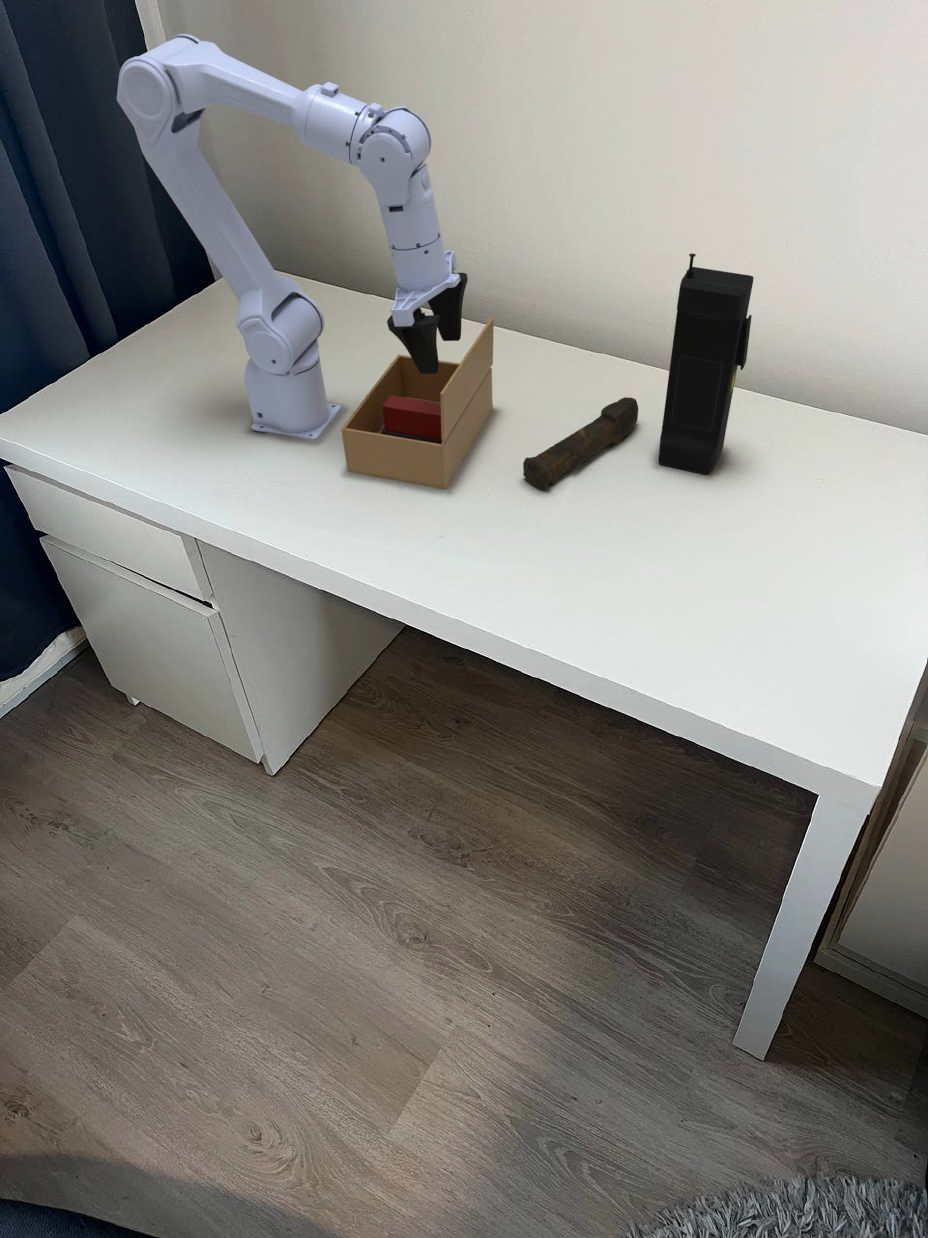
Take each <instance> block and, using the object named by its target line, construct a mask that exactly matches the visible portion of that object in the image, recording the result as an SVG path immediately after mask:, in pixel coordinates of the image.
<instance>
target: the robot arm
mask: <svg viewBox="0 0 928 1238" xmlns="http://www.w3.org/2000/svg"><path fill="white" fill-rule="evenodd" d="M339 91H340V86H339V85H338V84H335V83H333V82H330V81H327V82H325V83H324V84H323V85H322V84H319V83H316V84H313V85H311V86H309V87H307V88H306V89H305V90H301V89H300V88H296V87H295V86H292V85H291V84H288V83H286V82H284V81H282V80H280V79H277V78H276V77H274V76H272V75H270V74H267V73H266V72H264V71H261V70H259V69H257V68H255V67H253V66H251V65H249V64H246V63H244V62H242V61H240V60H238V59H236V58H234V57H232V56H230V55H228V54H226V53H224V52H223V51H222V50H221V49H220V48H219V46H218V45H217V44H216V43H214V42H212V41H206V40H200V39H199V38H197V37H196V36H194V35H191V34H188V33H178V34H176V35H174V36H173V37H170V39H169V40H168V41H166V42H164V43H162V44H160V45H158V46H156V47H155V48H153V49H150V50H148V51H146V52H144V53H142V54H141V55H139V56H134V57H131V58H128V59H127V60H126V61H125V62H123V64H122V66H121V67H120V70H119V74H118V83H117V94H116V102H117V104H118V105H119V106H120V107H121V109H122V111H123V113H124V114H125V115H126V117H127V118H128V120H129V122H130V123H131V125H132V126H133V128H134V132H135V135H136V137H137V141H138V144H139V147H140V150H141V154H142V155H143V156H144V158H145V160H146V162H147V163H148V165H149V166H150V168H151V169H152V171H153V172H154V174H155V175H156V177H157V179H158V180H159V181H160V183H161V185H162V187H163V188H164V189H165V191H166V193H167V194H168V195H169V197H170V198H171V199H172V201H173V203H174V204H175V205H176V207H177V209H178V210H179V212H180V213H181V215H182V216H183V219H185V221H186V223H187V224H188V226H189V227H190V228H191V231H192V232H193V233H194V235H195V237H196V238H197V239H198V241H199V242H200V244H201V246H202V247H203V249H204V250H205V251H206V253H207V255H208V256H209V258H210V259H211V261H212V262H213V264H214V265H215V267H216V269H217V270H218V271H219V273H220V274H221V276H222V277H223V279H224V281H225V282H226V284H227V285H228V286H229V288H230V289H231V291H232V292H233V294H234V296H235V298H236V299H237V309H236V320H235V327H236V329H238V331H239V333H240V334H241V336H242V338H243V341H244V345H245V350H246V352H247V355H248V357H249V359H248V361H247V363H246V365H245V369H244V386H245V392H246V396H247V399H248V404H249V408H250V414H251V417H252V420H253V421H252V422H253V423H252V424H251V426H250V428H251V430H252V431H257V432H261V433H272V434H277V435H283V436H289V437H294V438H299V439H306V440H311V441H316V440H318V439H319V438H320V436H321V435H322V433H323V432H324V431H325V430H326V429H327V427H328V426H329V425H330V424H331V422H332V421H333V419H335V417H336V416H337V415H338V413H339V412H340V411H341V410H342V406H341V405H338V404H334V403H329V402H328V400H327V394H326V387H325V382H324V376H323V369H322V364H321V357H320V352H319V351H320V350H319V348H320V345H319V339H318V338H319V337H320V336H321V335H322V333H323V332H324V329H325V317H324V314H323V312H322V310H321V308H320V306H319V305H318V304H317V302H315V301H314V300H313V299H312V298H311V297H310V296H308V295H307V294H306V293H305V292H304V291H303V290H302V289H301V287H300V286H299V284H298V282H297V281H296V280H294V279H292V278H289V277H286V276H282V275H280V274H278V273H277V272H276V271H275V269H274V267H273V266H272V264H271V263H270V260H269V259H268V258H267V256H266V254H265V252H264V251H263V250H262V248H261V246H260V245H259V243H258V242H257V240H256V239H255V237H254V235H253V234H252V232H251V230H250V229H249V227H248V226H247V224H246V221H244V219H243V217H242V216H241V214H240V213H239V211H238V210H237V208H236V206H235V205H234V204H233V202H232V200H231V199H230V196H229V195H228V193H227V192H226V190H225V189H224V187H223V185H222V184H221V182H220V181H219V179H218V177H217V176H216V174H215V172H214V171H213V169H212V167H211V166H210V164H209V163H208V161H207V160H206V159H205V157H204V156H203V154H202V152H201V150H200V149H199V147H198V140H199V132H200V128H201V122H202V118H203V116H204V113H205V112H206V110H207V108H210V107H211V106H215V105H218V104H224V105H226V106H229V107H233V108H235V109H238V110H241V111H245V112H246V113H250V114H254V115H257V116H259V117H262V118H265V119H268V120H271V121H274V122H277V123H280V124H283V125H286V126H289V127H291V128H292V129H293V131H294V133H295V135H296V137H297V139H298V141H299V142H300V143H301V145H304V146H306V147H308V148H310V149H313V150H316V151H318V152H320V153H323V154H325V155H328V156H330V157H333V158H335V159H338V160H340V161H343V162H345V163H347V164H350V165H353V166H355V167H357V168H358V170H359V172H360V173H361V175H362V176H363V178H364V179H366V181H367V182H368V183H369V184H370V185H371V187H372V188H373V189H374V192H375V196H376V200H377V202H378V207H379V210H380V215H381V219H382V222H383V226H384V230H385V235H386V238H387V239H386V240H387V242H388V247H389V251H390V256H391V260H392V264H393V268H394V273H395V276H396V280H397V283H396V288H395V297H394V303H393V306H392V308H391V309H390V313H391V315H390V316H389V317H388V318H387V320H386V324H387V328H388V330H389V332H391V334H393V335H394V336H395V337H396V338H397V339H398V340H399V341H400V343H401V344H402V345H403V347H404V348H405V349H406V351H407V353H408V354H409V356H411V357H412V359H413V361H414V363H415V365H416V367H417V368H418V370H419V372H420V373H421V374H436V373H437V372H438V367H439V362H438V360H439V354H438V353H439V352H438V346H437V344H438V343H437V336H438V333H439V335H440V337H441V339H442V341H443V342H460V340H461V337H462V318H463V317H462V316H463V315H462V313H463V301H464V295H465V291H466V288H467V285H468V281H469V279H468V274H467V273H466V272H454V271H456V269H457V268H458V264H457V258H456V252H455V251H454V250H447V251H445V246H444V241H443V237H442V231H441V227H440V221H439V217H438V211H437V207H436V201H435V196H434V191H433V188H432V183H431V178H430V174H429V173H430V172H429V169H428V164H427V162H426V163H425V161H426V160H427V158H428V157H429V155H430V152H431V148H432V137H431V132H430V130H429V129H430V128H429V127H428V125H427V123H426V122H425V121H424V119H423V118H422V117H421V116H420V115H419V114H417V113H416V112H415V111H412V110H411V109H410V108H408V107H407V106H403V105H402V106H401V105H400V106H395V107H392V108H390V109H388V110H383V105H382V104H379V103H377V102H372V103H366V102H364V101H361V100H359V99H356V98H354V97H351V96H350V95H347V94H344V93H341V92H339ZM426 303H428V305H429V307H430V310H431V312H432V314H431V315H426V312H425V311H424V312H423V311H422V307H423V305H424V304H426Z"/></svg>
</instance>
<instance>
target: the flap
mask: <svg viewBox="0 0 928 1238" xmlns="http://www.w3.org/2000/svg"><path fill="white" fill-rule="evenodd" d="M494 319H495V318H494V317H492V316H491V317H490V318H489V320H487V323H485V325H484V327H483V328H482V330H481V332H480V333H479V335H478V336H477V337H476V339H475V340H474V342H473V344H472V345H471V346H470V348H469V349H468V351H467V352H466V354H465V355H464V357H463V359H462V360H461V362H459V363H460V365H459V366H458V368H457V369H456V371H455V372H454V374H453V375H452V377H451V378H450V380H449V381H448V383H447V384H446V386H445V387H444V389H443V390H442V392H441V393H440V400H441V434H442V441H444V442H445V440H446V438H447V437H448V435H449V433H450V432H451V430H452V429H453V427H454V425H455V424H456V422H457V421H458V419H459V417H460V416H461V414H462V413H463V411H464V409H465V408H466V406H467V405H468V403H469V401H470V400H471V398H472V396H473V395H474V393H475V392H476V390H477V388H478V387H479V385H480V384H481V382H482V380H483V379H484V377H485V376H486V374H487V372H488V371H489V369H490V368H492V367H493V364H494V328H495V327H494V323H495V322H494Z"/></svg>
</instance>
